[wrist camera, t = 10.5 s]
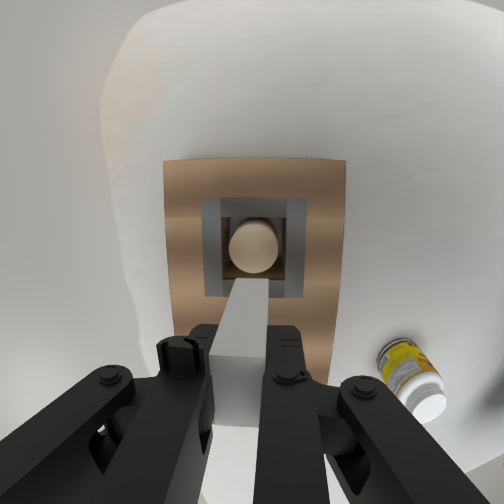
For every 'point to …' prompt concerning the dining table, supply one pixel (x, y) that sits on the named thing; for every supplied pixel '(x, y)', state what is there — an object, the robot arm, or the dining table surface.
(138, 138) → the dining table surface
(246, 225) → the beige round peg
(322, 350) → the socket block
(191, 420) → the robot arm
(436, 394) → the supplement bottle
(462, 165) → the dining table surface
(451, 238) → the dining table surface
